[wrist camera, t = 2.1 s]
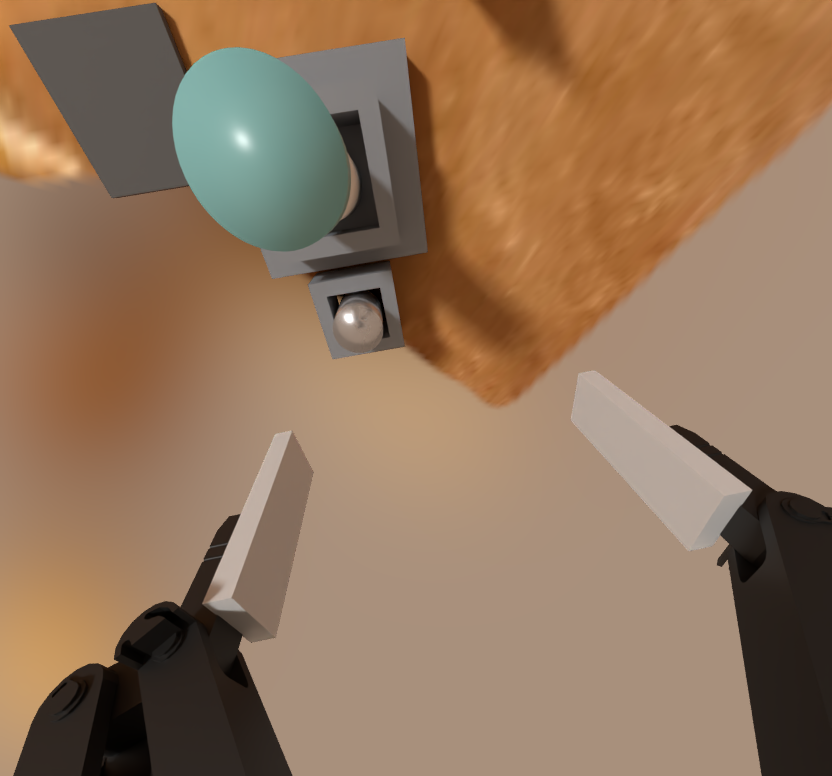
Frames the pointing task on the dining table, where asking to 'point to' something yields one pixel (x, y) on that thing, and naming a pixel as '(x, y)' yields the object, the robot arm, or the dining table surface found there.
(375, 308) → the shiny grey domed cylinder
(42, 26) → the mat
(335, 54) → the housing
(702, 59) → the dining table surface
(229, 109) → the white and teal cylinder
